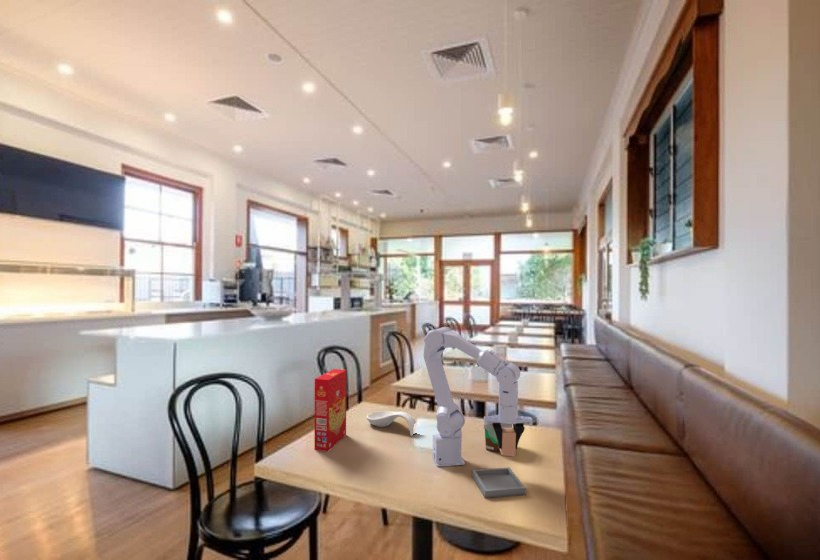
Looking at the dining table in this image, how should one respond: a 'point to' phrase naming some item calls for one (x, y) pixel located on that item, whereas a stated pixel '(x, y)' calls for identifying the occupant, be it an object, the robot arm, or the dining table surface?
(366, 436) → the dining table surface
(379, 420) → the spoon rest
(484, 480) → the tray
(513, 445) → the block
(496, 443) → the food container
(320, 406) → the food packaging
